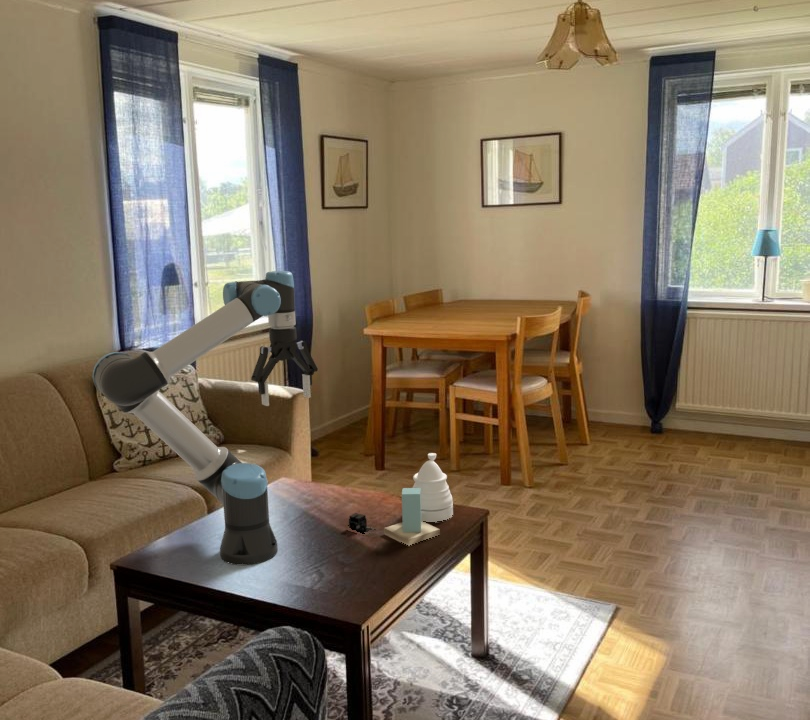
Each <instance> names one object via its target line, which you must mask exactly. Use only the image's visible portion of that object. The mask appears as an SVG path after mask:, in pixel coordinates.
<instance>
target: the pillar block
mask: <svg viewBox="0 0 810 720" xmlns="http://www.w3.org/2000/svg"><path fill="white" fill-rule="evenodd" d="M401 513H402V514H401V517H402V524H403V532H421V488H412V487H405V488H404V487H403V488H402V490H401Z"/></svg>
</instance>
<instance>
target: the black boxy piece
mask: <svg viewBox="0 0 810 720" xmlns="http://www.w3.org/2000/svg"><path fill="white" fill-rule="evenodd" d="M348 518H349V519H348V524H349V528H351V529H352V530H356V531H357V532H360V533H362V534H365V533H364V532H368V531H369V530H372V529H374V527H371V526H368V525H367V524H368V523H367V522H368V521H367V518H366V515H365V514H361V513H357V512H355V513H353V514H351V515H349V517H348ZM370 527H371V528H370ZM376 529H377V528H375V529H374V530H375V531H377V530H376Z"/></svg>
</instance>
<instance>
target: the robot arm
mask: <svg viewBox="0 0 810 720" xmlns="http://www.w3.org/2000/svg"><path fill="white" fill-rule="evenodd" d="M222 300H223V303H224V305H223V306H222V307H220V308H218V309H217V310H215V311H214V312H212V313H210V314H209V315H207V316H206V317H204V318H203V319H201V320H200V321H198V322H197V323H195V324H194V325H192V326H190V327H189V328H186V330H184V331H183V332H181V333H179V334H178V335H176V336H175V337H174V338H172V339H170V340H169V341H168V342H166V343H164V344H163V345H161V346H160V347H158V348H156V349H155V350H153V351H147V350H146V351H144V352H142V353H141V354H139V355H138V356H135V357H133V356H132V355H129V354H128V353H125V352H120V351H119V352H118V351H117V352H116V351H115V352H110V353H107V354H105V355H102V356H101V357H100V358H99V359H98V360H97V362H96V363H95V364H94V367H93V370H92V380H93V384H94V386H95V388H96V390H97V391H98V392H100V393H101V394H102V395H103V396H104V397H105V398H106V399H107V400H108V401H109V402H111V403H113V404H114V405H115V406H116V407H117V409H119V410H120V411H121V412H122V413H123V414H133V415H134V416H135V417H137V419H139V421H141V422H142V424H144V425H145V426H146V427H148V429H150V430H151V431H152V433H154V434H155V435H156V436H157V437H159V439H161V440H162V442H164V443H165V444H166V445H167V446H168V447H169V448H170V449H171V450H172V451H173V452H175V453H176V454H177V455H178V456H179V458H181V459H182V460H183V461H184V462H185V463H186V464H188V465H189V466H190V467H191V468H192V469H193V470H194V478H195V480H196V481H197V482H198V483H200V484H201V486H203V487H204V488H205V489H207V490H206V491H208V492H209V493H210V494H211V495H212V496H213V497H215V498H216V499H217V501H219V502H220V503H221V504H222V506H223V516H224V518H223V519H224V531H223V535H222V538H221V539H222V540H221V543H220V547H219V553H220V554H219V555H220V559H221V560H222V561H223V560H224V561H223V562H225V561H226V562H225V563H227V562H229V563H228V564H231V563H232V564H231V565H237V564H247V565H255V564H258V563H263V562H266V561H268V560H270V559H272V558H274V557H275V556H276V555H277V554H278V541H277V538H276V536H275V534H274V531H273V529H272V525H271V523H270V515H269V510H270V509H269V496H268V484H269V482H268V478H267V473H266V471H265V469H264V468H263V467H262V466H259V465H258V464H255V463H253V464H252V463H250V462H249V463H248V462H242V461H241V460H240V459H239V458H237V456H235V454H233V453H232V452H231V451H230V450H229V449H228V448H227V447H225V446H220V447H219V446H217V445H216V444H215V443H213V441H212V440H211V439H210V438H208V436H206V435H205V434H204V432H202V431H201V430H200V429H199V428H198V427H197V426H196V424H194V423H193V422H192V421H191V420H190V419H188V417H186V416H185V415H184V413H182V411H180V410H179V408H177V407H176V406H175V405H174V404H173V403H172V402H171V401H170V400H169V399H168V398H167V397H166V396H165V395H164V394H163V393H162V392H161V391H160V390H161V389H162V388H164V387H166V386H167V385H168V384H170V381H171V380H170V379H171V377H173V376H174V375H176V374H177V373H179V372H181V371H182V370H184V369H185V368H187V367H189V366H190V365H191V364H193V363H194V362H195V361H197V360H198V359H200V358H202V357H203V356H205V355H206V354H207V353H209V352H211V351H212V350H213V349H215V348H217V347H219V345H221V344H223V343H224V342H226V341H227V340H229V339H230V338H231V337H233V336H235V335H236V334H237V333H240V332H241V331H242V330H243V329H245V328H247V327H248V326H250V325H251V324H253V323H255V322H256V321H257V320H259V319H260V318H262V317H263V316H264V317H267V318H268V326H269V327H270V328H269V329H268V335H269V341H270V342H269V343H270V345H269V346H264V345H263V346H260V347H259V356H258V358H257V360H256V364H255V366H254V369H253V373H252V375H251V377H250V378H251V381H252V382H256V383H257V387H258V393H259V395H261V405H262V406H266V407H269V406H270V397H269V382H267V379H268V378H269V376H270V374H271V373H272V372H273V370H274V368H275V366H276V365H277V364H278V363H279V361H280V362H281V361H285V360H292V361H294V362H295V364H296V365H297V366H298V367H299V368H300V369H301V370H302V372H304V374H303V373H302V374H301V376H302V392H303V393H302V394H303V397H304V398H308V399H310V398H311V397H312V395H311V386H312V385H313V376H314V374H315V372H317V371H318V367H317V365H316V363H315V361H314V359H313V356H312V355H311V353H310V351H309V349H308V345H307V344H308V343H307V341H303V340H299V341H298V342H297V338H298V337H297V327H296V325H297V324H296V306H295V305H296V303H295V302H296V300H295V282H294V276H293V273H292V272H291V271H289V270H273V271H268V272H266V274H265V278H264V279H260V280H259V279H258V280H244V281H243V280H242V281H231V282H227V283H225V284H224V286H223V289H222ZM297 349H298V350H299V351H300V353H301V356H302V357H303V359H304V360H303V359H302V357H300V355H299V354H298V353H297ZM270 353H271V355H270V356H269V354H270ZM268 356H269V358H268ZM267 360H268V361H267ZM304 361H305V362H304Z"/></svg>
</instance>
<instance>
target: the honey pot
mask: <svg viewBox="0 0 810 720" xmlns="http://www.w3.org/2000/svg"><path fill="white" fill-rule="evenodd" d="M427 458H428V459H429V460H427V461H425V462H424V463H423V464H422V465H421V467H420V468H419V471H418V472H417V473H415V474H413V476H412V479H413V480H414V484H413V486H412V487H411V488H421V521H426V522H435V523H438V522H437V521H442V522H444V521H443V520H446V521H448V520H450V519H452V517H453V516H454V504H453V503H454V502H453V495H452V494H451V490H450V487H449V484H448V483H447V478H448V475H447V474H446V473H444V472H443V471H442V469H441V468H440V466H439V465H438V464H437V463H436V462H435V460H436V459H437V453H435V452H429V453H428V454H427ZM452 515H453V516H452ZM449 518H450V519H449ZM447 519H448V520H447ZM426 522H425V523H426Z"/></svg>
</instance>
